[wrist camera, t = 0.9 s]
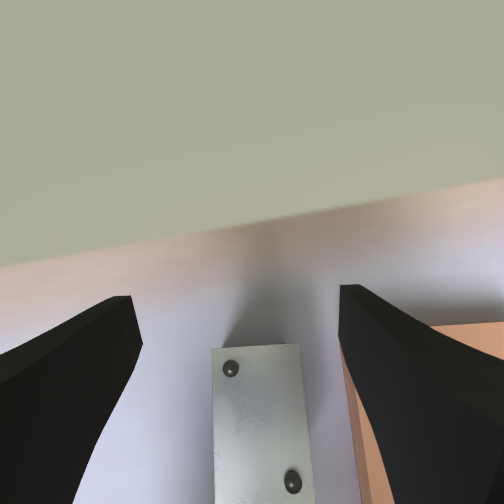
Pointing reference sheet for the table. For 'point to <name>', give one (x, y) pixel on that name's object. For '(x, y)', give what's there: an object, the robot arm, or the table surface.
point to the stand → (366, 449)
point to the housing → (260, 426)
